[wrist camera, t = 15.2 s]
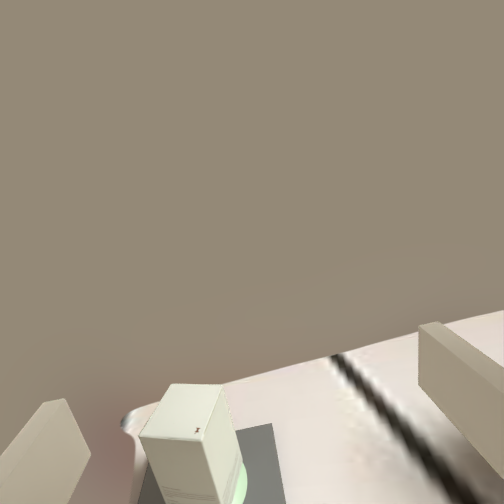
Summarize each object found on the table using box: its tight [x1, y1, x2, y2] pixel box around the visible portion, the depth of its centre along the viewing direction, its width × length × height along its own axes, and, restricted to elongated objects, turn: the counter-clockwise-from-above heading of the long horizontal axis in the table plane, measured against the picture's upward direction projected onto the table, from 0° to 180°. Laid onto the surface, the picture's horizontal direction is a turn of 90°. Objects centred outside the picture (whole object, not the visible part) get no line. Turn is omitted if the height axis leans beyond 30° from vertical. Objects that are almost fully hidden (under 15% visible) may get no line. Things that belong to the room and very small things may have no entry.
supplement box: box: [139, 384, 243, 504], centre depth 32 cm, size 7×7×13 cm
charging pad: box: [138, 423, 286, 504], centre depth 34 cm, size 18×14×1 cm
